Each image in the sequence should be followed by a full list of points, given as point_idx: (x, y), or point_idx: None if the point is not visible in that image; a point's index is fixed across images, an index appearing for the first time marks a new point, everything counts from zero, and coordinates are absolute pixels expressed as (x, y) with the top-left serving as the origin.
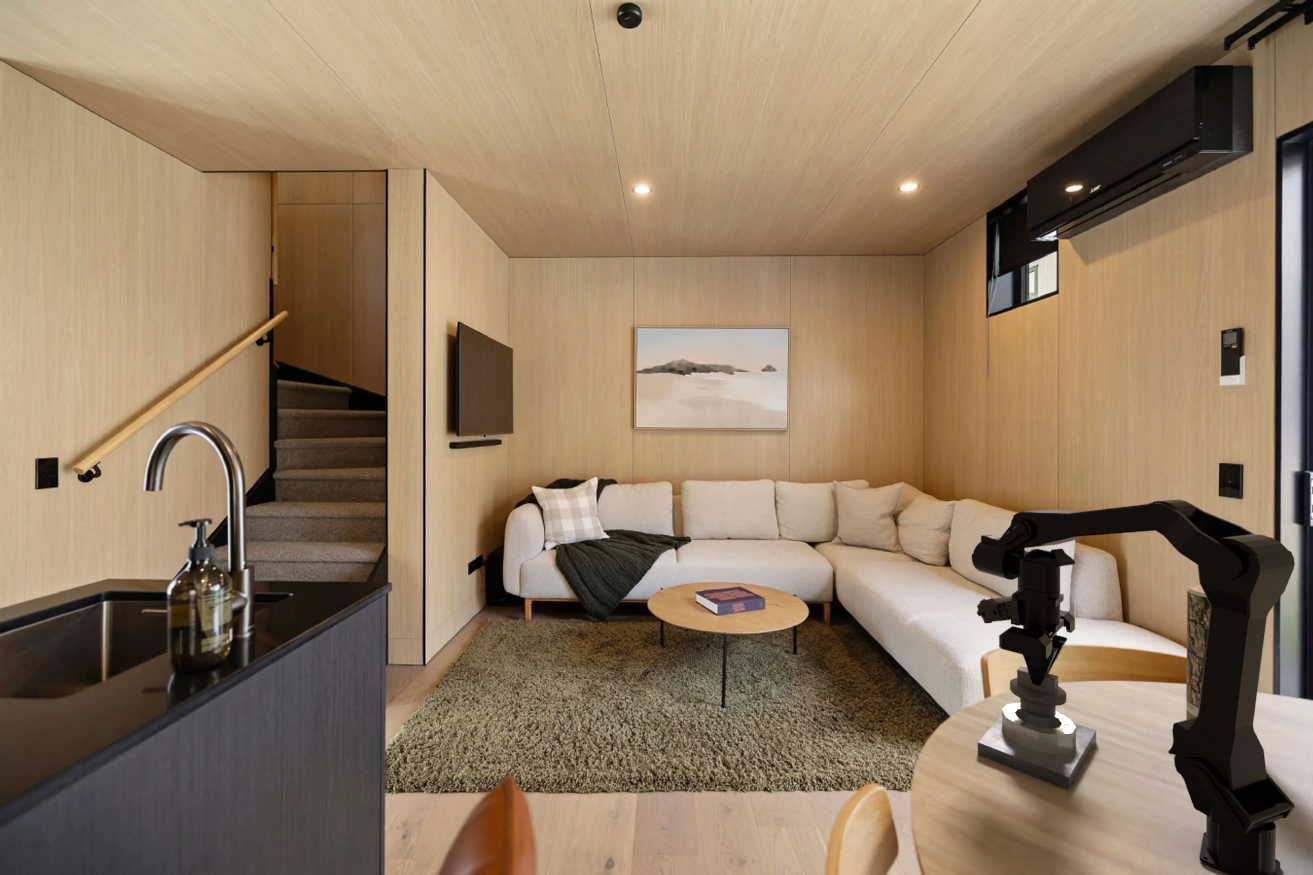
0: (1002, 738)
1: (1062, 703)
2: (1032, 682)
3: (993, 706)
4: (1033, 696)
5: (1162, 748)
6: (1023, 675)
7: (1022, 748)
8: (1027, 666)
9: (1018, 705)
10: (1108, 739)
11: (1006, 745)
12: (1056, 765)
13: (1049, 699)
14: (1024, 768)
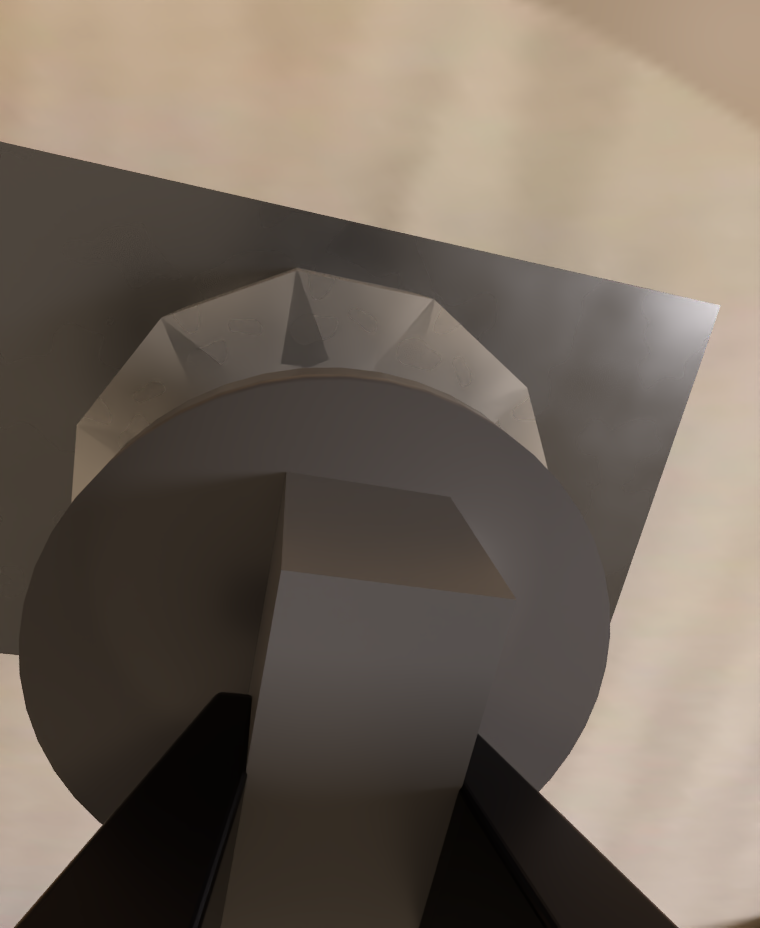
0: (118, 286)
1: None
2: (210, 701)
3: (732, 173)
4: (27, 664)
5: (635, 853)
6: (268, 622)
7: (76, 411)
8: (37, 907)
9: (463, 383)
10: (611, 705)
11: (35, 319)
12: (8, 586)
13: (77, 795)
14: None
